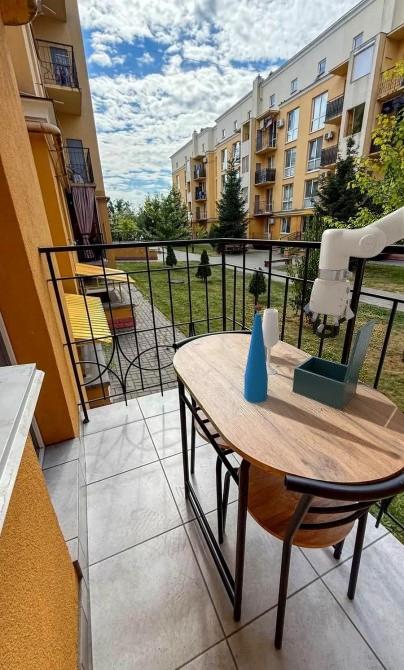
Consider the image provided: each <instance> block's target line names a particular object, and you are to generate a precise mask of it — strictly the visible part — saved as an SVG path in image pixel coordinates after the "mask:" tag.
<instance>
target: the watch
mask: <svg viewBox="0 0 404 670" xmlns="http://www.w3.org/2000/svg"><path fill="white" fill-rule="evenodd" d="M332 326H333V325H330V324H324V323H320V325H319V327H318V328H317V331H316V334H315V336H316V337H317V338H320V339H330V338H331V330H332ZM324 330H325V331H326V330H327V331H330V332H329V333H324V332H323V331H324Z"/></svg>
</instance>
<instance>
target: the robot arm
mask: <svg viewBox="0 0 404 670" xmlns="http://www.w3.org/2000/svg"><path fill="white" fill-rule="evenodd" d="M403 239H404V206H402V207H400V208H397V210H395V211H392V212H391V213H389V214H387V215H385V216H384V217H383V216H382V217H381V218H380V219H378V220H376V221H374V222H372V223H370V224H368V225H367V226H366V225H365V227H361V228H354V229H351V228H350V229H349V228H330V229H329V228H328V229H326V230H323V232H322V234H321V243H320V250H319V251H320V253H319V262H318V271H317V277H316V278H315V279H314V282H313V286H312V288H311V294H310V299H309V302H308V303H307V304H306V305H305V306H304V307H303V310H304V311H305V312H306V313H307V314H308V316H309V317H310V319H311V322H312V327H311V329H312V334H313V335H316V331H317V328H318V327H319V325H321V324H322V320H321V319H320V317H321V315H328V316H332V318H333V324H332V325H331V326H332V330H331V331H330V333H331V337H330V338H331V339H335V338H336V337H337V336H339V335H340V329H341V324H343V323H345V322H347V321H349V320H350V319H353V318H354V317H355V313H354V312H353V311H352V309H351V307H350V302H351V301H350V300H351V299H350V298H351V283H350V280H349V279H348V278H353V274H354V273H353V272H352V271H349V264H350V257H354V258H360V259H361V258H362V259H368V258H369V259H370V258H373V257H376V256H378V255H379V254H381V252H382V251H383V250H384V249H385V248H386V247H388V246H390V245H392V244H394V243H396V242H398V241H400V240H403ZM344 314H346V315H344ZM342 316H343V317H342Z"/></svg>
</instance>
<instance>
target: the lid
mask: <svg viewBox="0 0 404 670" xmlns="http://www.w3.org/2000/svg"><path fill="white" fill-rule="evenodd" d="M376 321H377V319H375V318H372V319H371V320H370V321H368V322H366V323H365V324H364V325H363V326H361V327H360V328H358V329H357V331H356V335H355V338H354V342H353V345H352V350H351V354H350V358H349V361H348V364H347V366H348V368H347V372H346V375H345V379H344V383H346V384H347V383H348V382H349V381H350V380H351V379H352V378H353V377H354V376H355V375H356V374H357V373H358V372H359V371H360V372H361V370H362V368H363V365H364V362H365V358H366V355H367V352H368V348H369V345H370V342H371V339H372V334H373V332H374V327H375V326H376V325H375V324H376ZM360 372H359V373H360Z"/></svg>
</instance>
